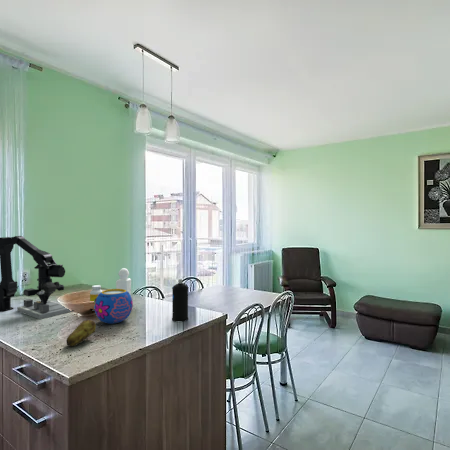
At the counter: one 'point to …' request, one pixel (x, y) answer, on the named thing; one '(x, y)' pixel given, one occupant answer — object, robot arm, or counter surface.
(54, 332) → the counter surface
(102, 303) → the ceramic pot
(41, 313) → the panel
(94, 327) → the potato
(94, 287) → the supplement bottle
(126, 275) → the white figurine
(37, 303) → the handle
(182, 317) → the aerosol can
